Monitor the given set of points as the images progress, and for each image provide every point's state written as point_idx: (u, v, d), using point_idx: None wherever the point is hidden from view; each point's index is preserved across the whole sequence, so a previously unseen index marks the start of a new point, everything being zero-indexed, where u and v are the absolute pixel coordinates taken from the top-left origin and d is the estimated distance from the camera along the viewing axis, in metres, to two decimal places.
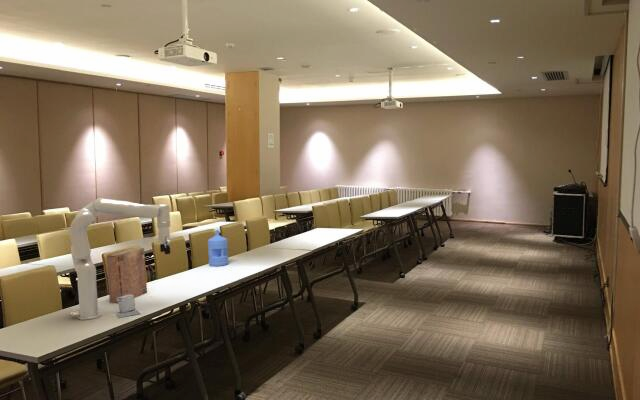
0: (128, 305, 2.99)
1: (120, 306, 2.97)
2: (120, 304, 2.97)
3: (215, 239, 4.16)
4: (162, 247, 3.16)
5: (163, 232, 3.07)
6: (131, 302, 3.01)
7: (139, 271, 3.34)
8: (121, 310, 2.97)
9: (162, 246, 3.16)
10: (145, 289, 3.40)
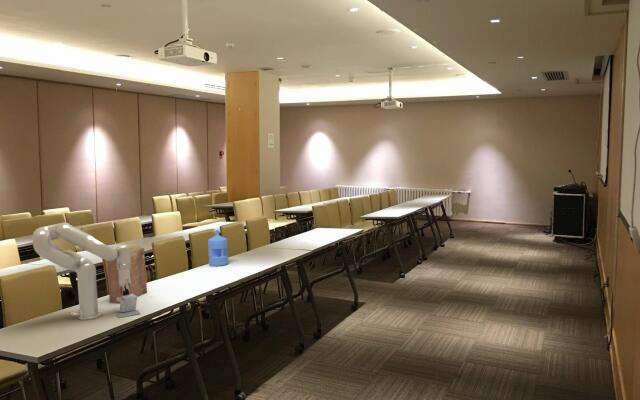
0: (129, 306, 2.98)
1: (122, 305, 2.97)
2: (122, 303, 2.97)
3: (215, 239, 4.16)
4: None
5: (123, 275, 2.96)
6: (133, 303, 3.00)
7: (139, 271, 3.34)
8: (121, 309, 2.97)
9: None
10: (145, 289, 3.40)
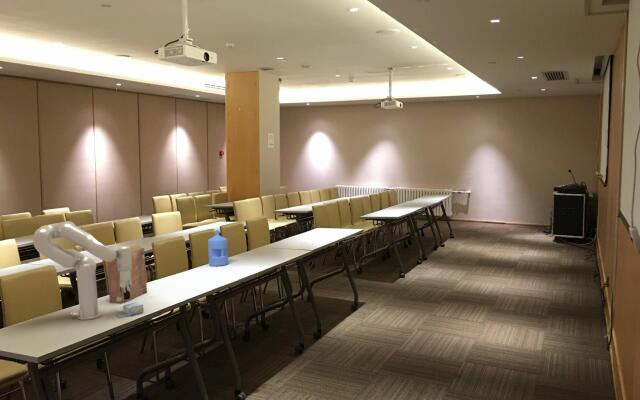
0: None
1: (126, 310, 2.94)
2: (127, 310, 2.93)
3: (215, 239, 4.16)
4: None
5: (124, 276, 2.93)
6: None
7: (139, 271, 3.34)
8: (124, 310, 2.95)
9: None
10: (145, 289, 3.40)
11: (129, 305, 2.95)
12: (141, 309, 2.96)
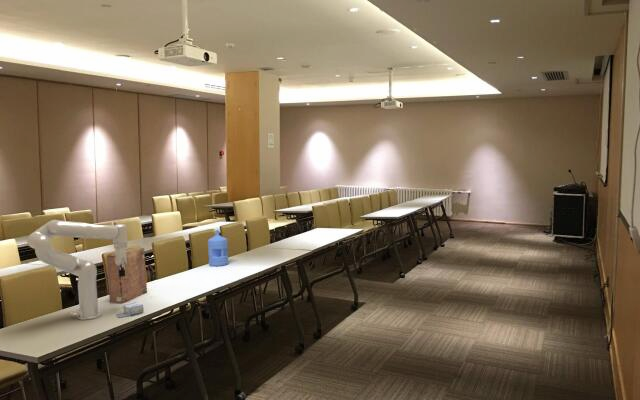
0: None
1: (126, 310, 2.94)
2: (127, 310, 2.93)
3: (215, 239, 4.16)
4: None
5: (119, 253, 2.99)
6: None
7: (139, 271, 3.34)
8: (124, 310, 2.95)
9: None
10: (145, 289, 3.40)
11: (129, 305, 2.95)
12: (141, 309, 2.96)
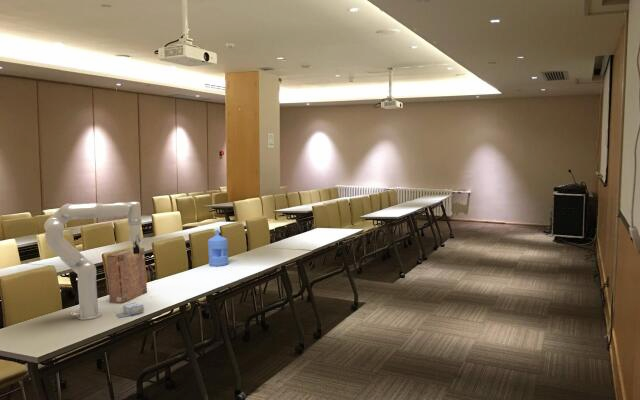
0: None
1: (126, 310, 2.94)
2: (127, 310, 2.93)
3: (215, 239, 4.16)
4: None
5: (133, 230, 3.00)
6: None
7: (139, 271, 3.34)
8: (124, 310, 2.95)
9: None
10: (145, 289, 3.40)
11: (129, 305, 2.95)
12: (141, 309, 2.96)
